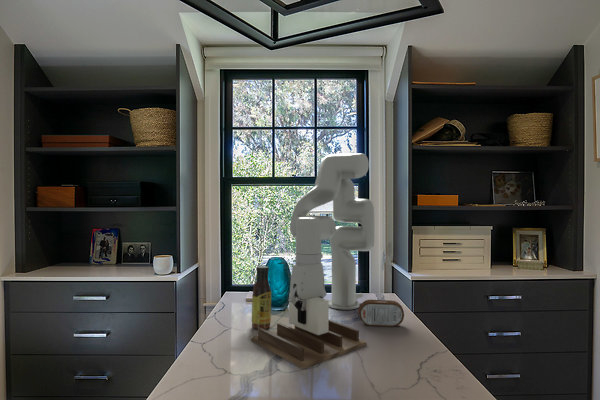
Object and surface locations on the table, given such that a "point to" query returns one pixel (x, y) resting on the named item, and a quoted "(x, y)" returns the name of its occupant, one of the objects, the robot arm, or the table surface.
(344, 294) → the robot arm
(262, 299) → the sauce bottle
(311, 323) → the white rectangular box
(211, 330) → the table surface
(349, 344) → the dish rack
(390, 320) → the tin
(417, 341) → the table surface
